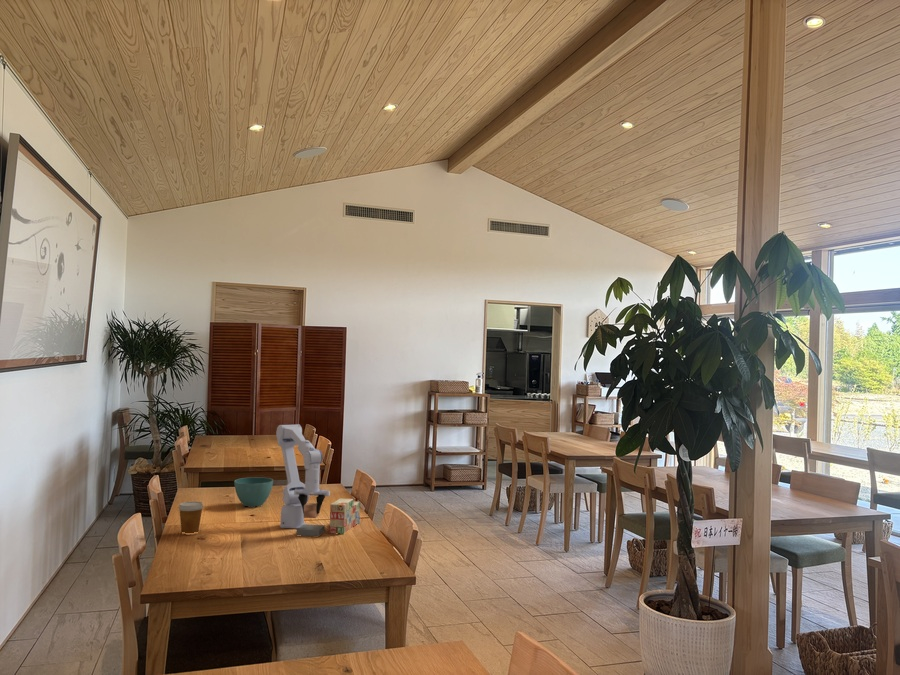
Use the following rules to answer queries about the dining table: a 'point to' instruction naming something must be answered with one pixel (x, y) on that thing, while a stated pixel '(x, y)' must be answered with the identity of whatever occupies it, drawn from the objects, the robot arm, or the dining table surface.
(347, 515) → the stack of blocks
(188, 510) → the disposable coffee cup
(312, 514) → the terracotta cube
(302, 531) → the charcoal slab
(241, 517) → the dining table surface
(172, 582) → the dining table surface
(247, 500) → the teal bowl
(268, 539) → the dining table surface
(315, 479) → the robot arm
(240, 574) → the dining table surface
